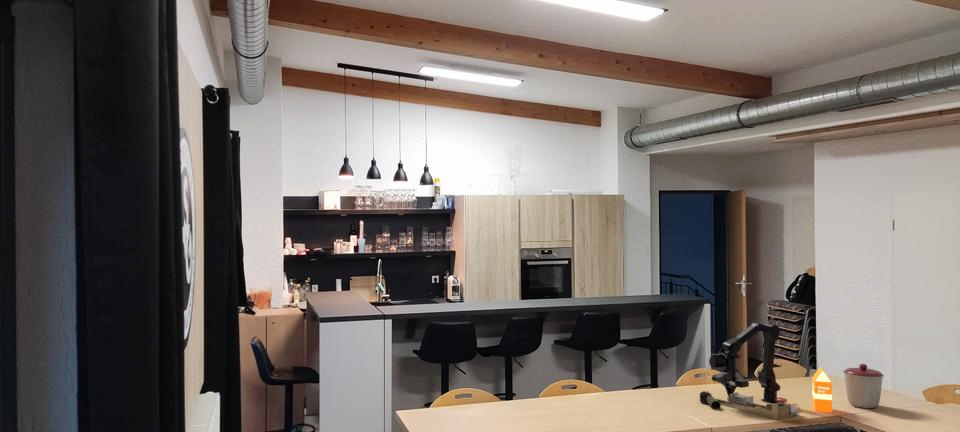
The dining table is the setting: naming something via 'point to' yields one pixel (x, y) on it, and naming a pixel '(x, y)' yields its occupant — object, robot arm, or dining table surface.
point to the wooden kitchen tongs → (768, 408)
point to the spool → (741, 399)
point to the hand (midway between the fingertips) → (729, 397)
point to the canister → (863, 386)
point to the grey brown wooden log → (709, 400)
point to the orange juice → (821, 392)
